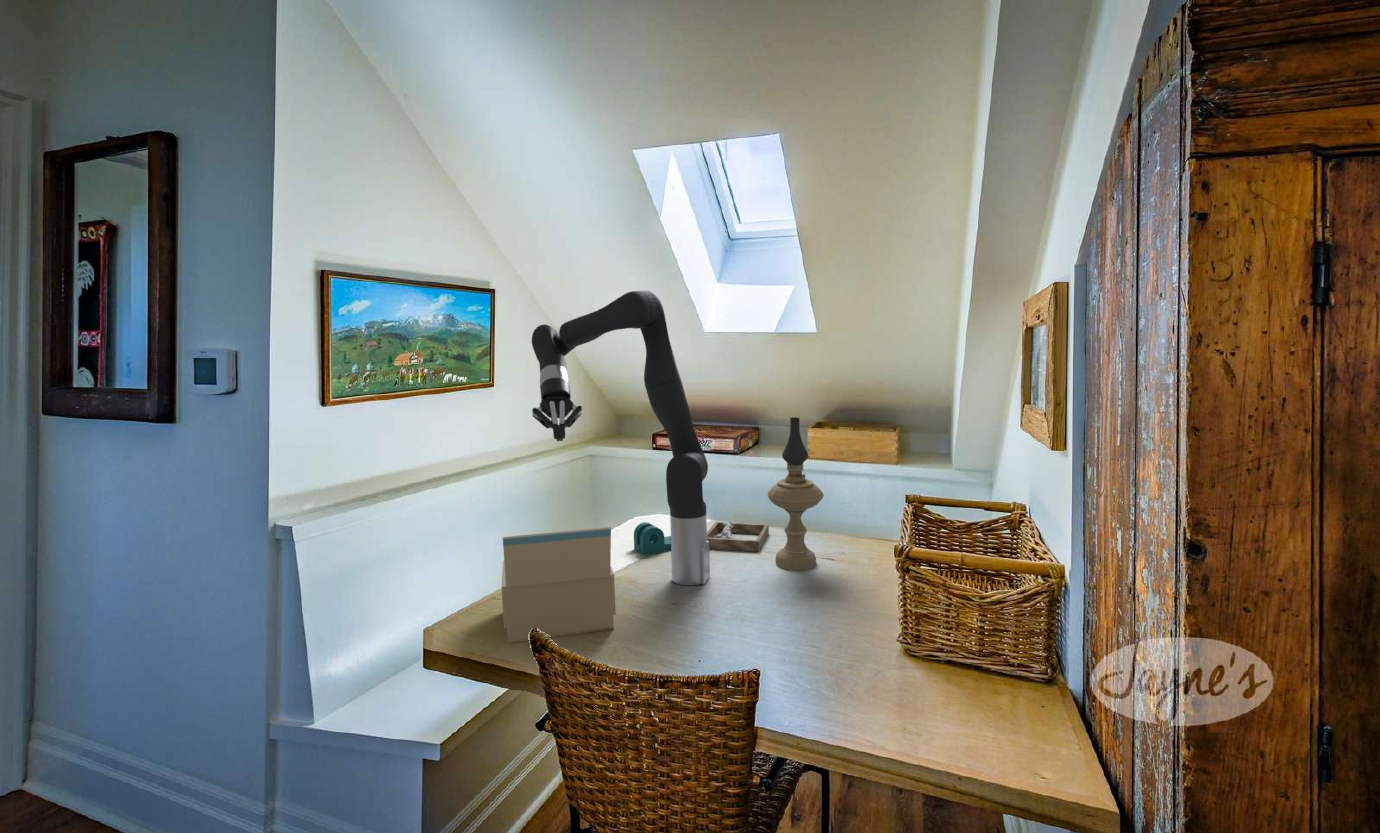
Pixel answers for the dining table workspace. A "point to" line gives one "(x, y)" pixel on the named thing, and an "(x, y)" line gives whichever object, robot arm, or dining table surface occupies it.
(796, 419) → the oil lamp
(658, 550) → the bracket
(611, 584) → the tan open box
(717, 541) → the wooden tray
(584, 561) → the wooden box lid
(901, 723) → the dining table surface
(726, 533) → the soldier figure
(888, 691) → the dining table surface
